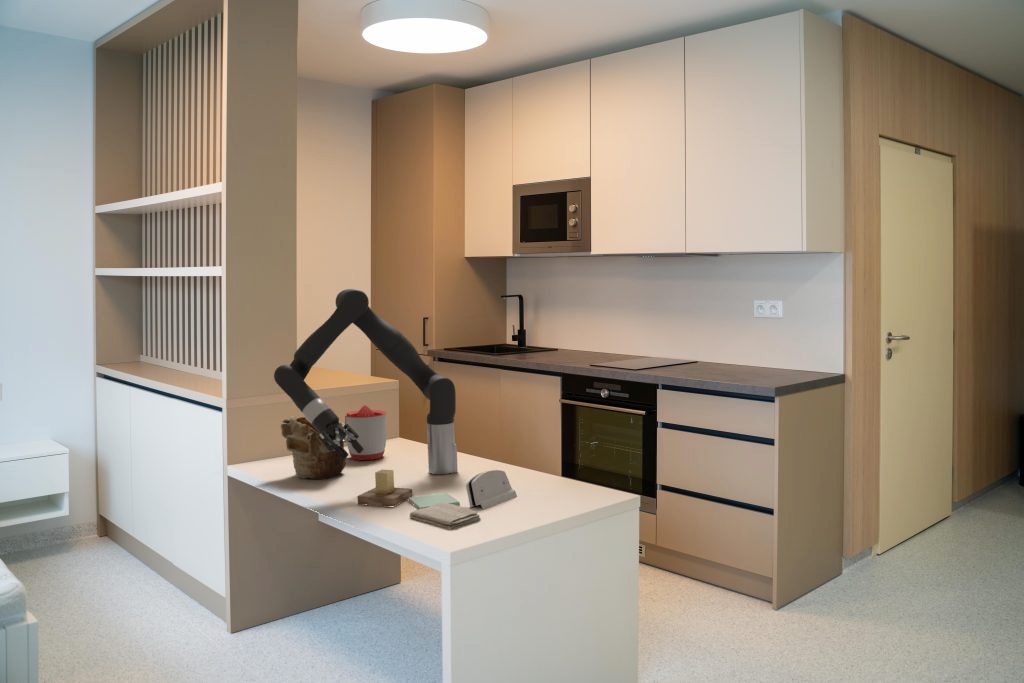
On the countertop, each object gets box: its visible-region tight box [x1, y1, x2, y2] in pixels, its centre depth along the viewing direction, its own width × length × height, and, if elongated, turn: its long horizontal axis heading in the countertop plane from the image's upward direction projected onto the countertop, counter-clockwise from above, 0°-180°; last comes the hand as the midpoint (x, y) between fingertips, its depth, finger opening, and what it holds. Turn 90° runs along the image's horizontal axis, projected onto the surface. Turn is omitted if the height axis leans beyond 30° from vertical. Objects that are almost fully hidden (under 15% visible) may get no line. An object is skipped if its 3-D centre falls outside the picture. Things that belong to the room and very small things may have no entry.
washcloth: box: [409, 502, 481, 530], centre depth 228 cm, size 12×18×3 cm, turn 48°
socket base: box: [357, 486, 414, 507], centre depth 249 cm, size 12×12×2 cm
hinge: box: [465, 469, 518, 510], centre depth 245 cm, size 17×5×10 cm, turn 143°
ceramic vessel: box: [280, 415, 347, 480], centre depth 283 cm, size 23×24×25 cm
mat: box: [407, 492, 461, 510], centre depth 245 cm, size 12×12×1 cm
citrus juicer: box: [343, 404, 388, 461], centre depth 309 cm, size 16×17×20 cm
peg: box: [374, 469, 395, 495], centre depth 249 cm, size 4×4×9 cm
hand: (354, 454), depth 252 cm, fingers open, 8 cm apart
